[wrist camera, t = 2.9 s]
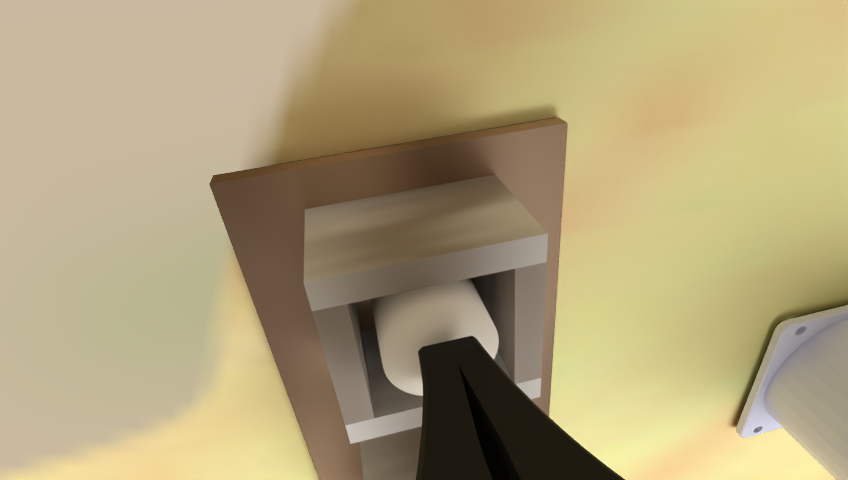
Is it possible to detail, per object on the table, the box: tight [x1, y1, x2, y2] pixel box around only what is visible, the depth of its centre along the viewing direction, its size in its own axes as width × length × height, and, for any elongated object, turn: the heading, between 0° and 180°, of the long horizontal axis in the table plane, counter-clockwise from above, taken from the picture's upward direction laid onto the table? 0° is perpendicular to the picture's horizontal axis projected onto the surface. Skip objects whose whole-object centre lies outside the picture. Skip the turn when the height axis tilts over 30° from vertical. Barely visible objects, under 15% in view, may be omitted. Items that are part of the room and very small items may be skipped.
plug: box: [371, 278, 499, 396], centre depth 13 cm, size 3×3×3 cm
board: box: [210, 117, 567, 480], centre depth 18 cm, size 10×24×4 cm, turn 6°
